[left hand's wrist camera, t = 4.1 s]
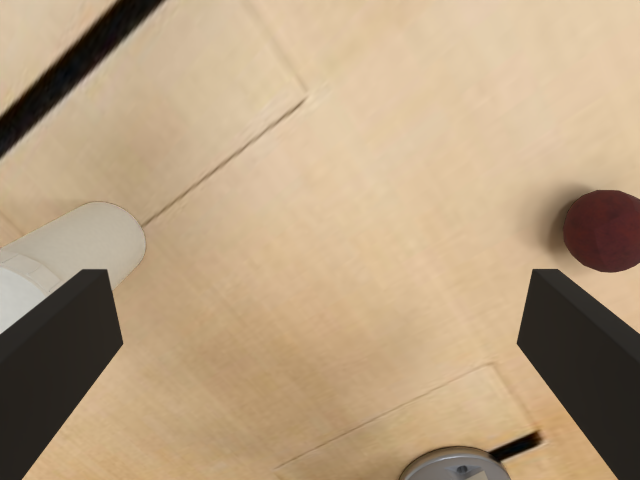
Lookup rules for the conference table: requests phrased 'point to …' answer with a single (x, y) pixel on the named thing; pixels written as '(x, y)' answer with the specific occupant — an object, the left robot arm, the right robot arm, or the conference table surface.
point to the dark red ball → (604, 230)
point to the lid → (22, 286)
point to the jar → (86, 242)
